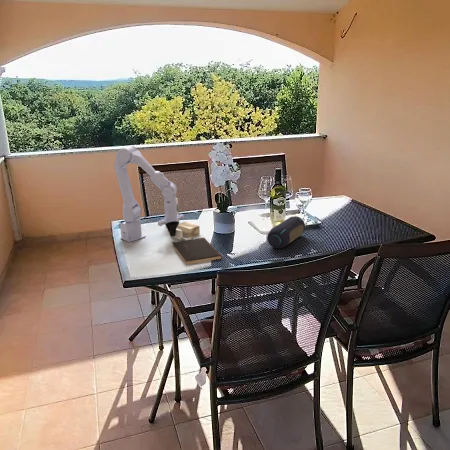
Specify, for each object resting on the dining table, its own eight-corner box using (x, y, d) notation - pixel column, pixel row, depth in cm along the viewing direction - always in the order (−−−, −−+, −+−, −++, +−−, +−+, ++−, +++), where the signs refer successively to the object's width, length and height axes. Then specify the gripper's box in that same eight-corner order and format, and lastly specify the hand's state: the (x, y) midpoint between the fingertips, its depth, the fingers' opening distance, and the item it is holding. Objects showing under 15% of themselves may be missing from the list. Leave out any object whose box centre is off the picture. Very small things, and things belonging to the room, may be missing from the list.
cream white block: (183, 241, 203) (183, 232, 201) (169, 235, 210) (169, 227, 208) (189, 239, 205) (189, 230, 204) (175, 233, 212) (174, 225, 211)
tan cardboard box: (177, 244, 200) (177, 235, 199) (162, 238, 208) (161, 229, 206) (201, 235, 211) (201, 226, 209) (186, 229, 218) (185, 221, 217)
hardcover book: (186, 266, 178) (185, 261, 178) (172, 246, 199) (172, 242, 198) (222, 260, 184) (221, 255, 183) (205, 241, 204) (204, 237, 203)
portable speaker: (284, 252, 189) (285, 231, 185) (264, 248, 194) (264, 227, 191) (307, 235, 208) (308, 215, 205) (288, 231, 213) (289, 212, 210)
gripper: (163, 214, 194) (165, 242, 198) (187, 207, 203) (189, 234, 208) (154, 211, 198) (156, 238, 203) (178, 204, 208) (179, 230, 213)
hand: (172, 236), depth 206 cm, fingers closed
